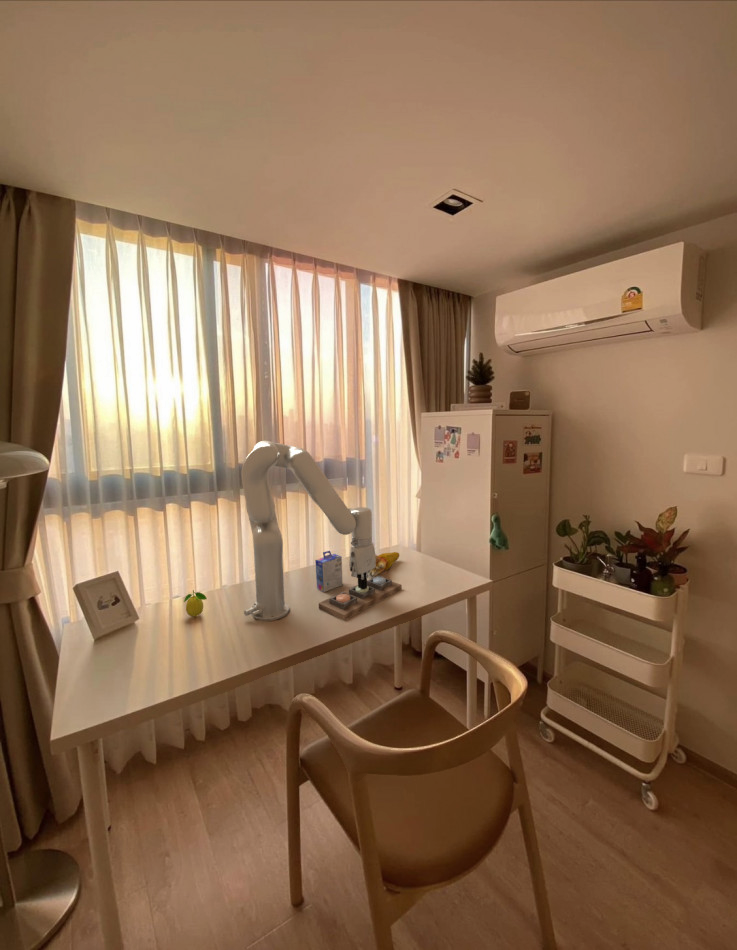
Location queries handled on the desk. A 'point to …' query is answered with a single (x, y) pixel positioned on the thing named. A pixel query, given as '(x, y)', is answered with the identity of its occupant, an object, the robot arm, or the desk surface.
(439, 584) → the desk surface
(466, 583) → the desk surface
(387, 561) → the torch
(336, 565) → the ink cartridge box
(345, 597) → the button terracotta
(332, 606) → the button panel
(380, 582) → the button slate
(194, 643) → the desk surface
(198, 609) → the lemon
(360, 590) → the button sage
